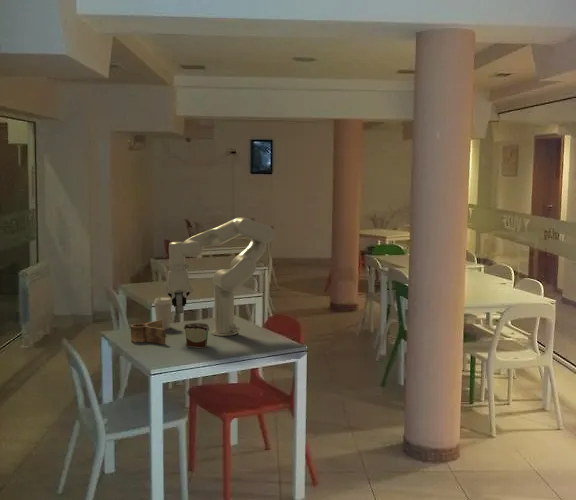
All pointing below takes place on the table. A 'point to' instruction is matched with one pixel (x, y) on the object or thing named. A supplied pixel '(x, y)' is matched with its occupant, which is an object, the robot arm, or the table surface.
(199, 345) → the food container
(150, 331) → the hinge
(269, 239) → the robot arm
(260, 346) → the table surface
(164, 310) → the coffee cup
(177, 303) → the pin
